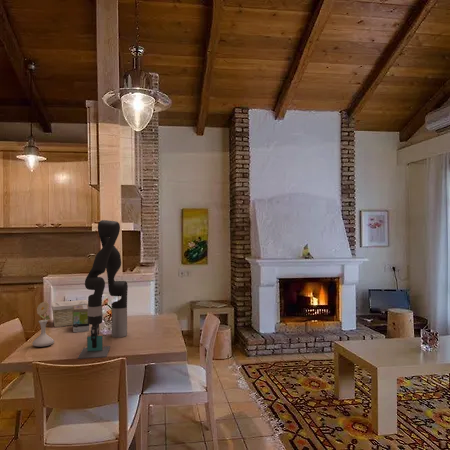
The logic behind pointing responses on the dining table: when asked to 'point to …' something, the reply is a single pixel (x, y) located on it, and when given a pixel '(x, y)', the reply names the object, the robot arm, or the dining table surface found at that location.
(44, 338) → the flower in vase
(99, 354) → the mat
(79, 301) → the storage basket
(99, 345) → the tile
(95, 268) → the robot arm
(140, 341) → the dining table surface
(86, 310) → the tea box
